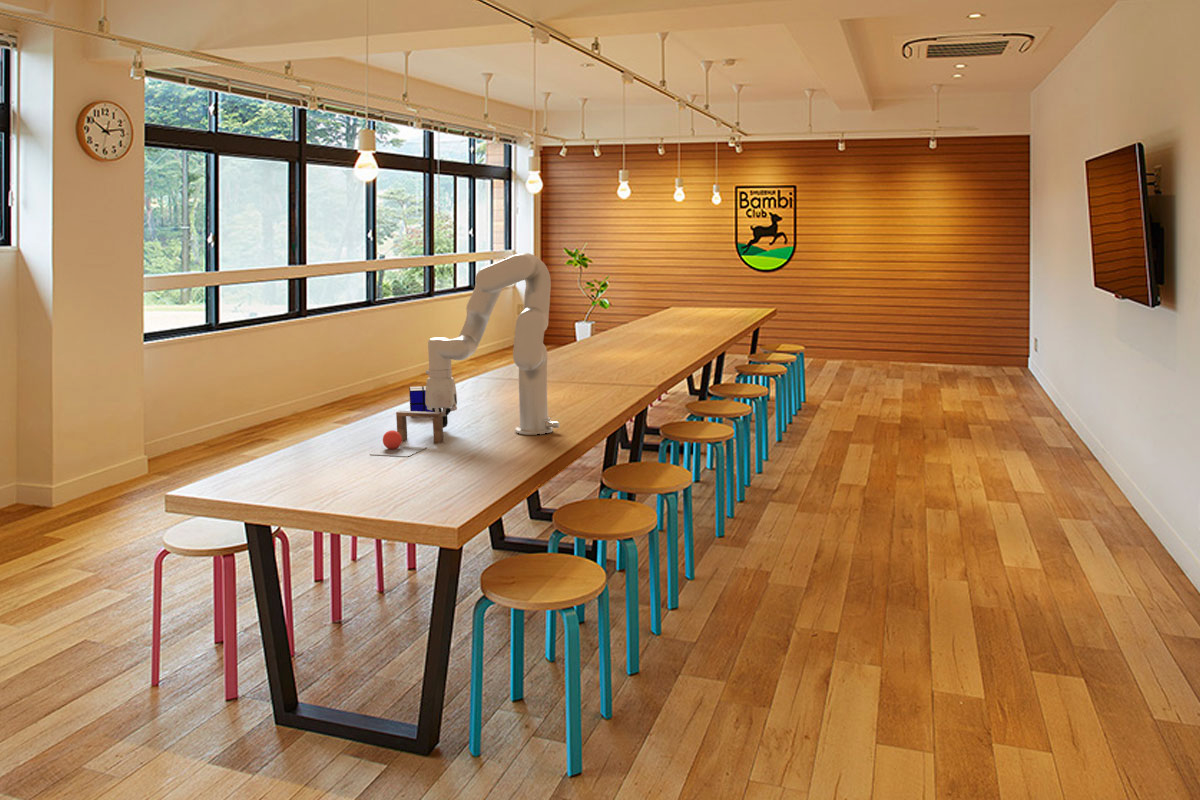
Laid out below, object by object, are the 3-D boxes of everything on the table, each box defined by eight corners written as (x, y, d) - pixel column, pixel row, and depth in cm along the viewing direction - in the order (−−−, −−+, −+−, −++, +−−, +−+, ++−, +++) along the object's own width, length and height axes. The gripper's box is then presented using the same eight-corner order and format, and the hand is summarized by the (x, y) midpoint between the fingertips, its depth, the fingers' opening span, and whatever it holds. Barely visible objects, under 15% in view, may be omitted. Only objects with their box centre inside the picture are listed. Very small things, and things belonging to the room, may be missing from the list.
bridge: (401, 439, 333) (400, 410, 331) (443, 441, 329) (442, 412, 327) (397, 441, 330) (396, 412, 329) (439, 443, 326) (438, 414, 324)
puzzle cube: (410, 417, 372) (409, 390, 370) (410, 412, 382) (409, 386, 380) (438, 416, 374) (437, 389, 372) (437, 411, 384) (435, 385, 382)
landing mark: (426, 448, 320) (426, 447, 320) (407, 457, 307) (407, 456, 307) (390, 446, 323) (390, 445, 323) (369, 454, 311) (369, 454, 311)
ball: (392, 448, 314) (402, 452, 319) (397, 430, 315) (407, 434, 320) (376, 445, 316) (387, 449, 322) (382, 426, 317) (392, 431, 323)
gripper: (415, 375, 341) (418, 428, 344) (456, 376, 337) (458, 430, 340) (425, 371, 348) (427, 424, 351) (465, 373, 344) (467, 425, 347)
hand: (442, 426), depth 345 cm, fingers closed
